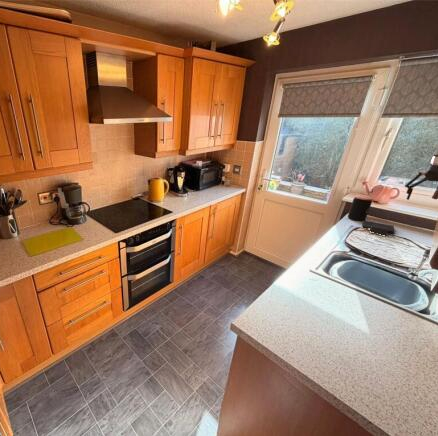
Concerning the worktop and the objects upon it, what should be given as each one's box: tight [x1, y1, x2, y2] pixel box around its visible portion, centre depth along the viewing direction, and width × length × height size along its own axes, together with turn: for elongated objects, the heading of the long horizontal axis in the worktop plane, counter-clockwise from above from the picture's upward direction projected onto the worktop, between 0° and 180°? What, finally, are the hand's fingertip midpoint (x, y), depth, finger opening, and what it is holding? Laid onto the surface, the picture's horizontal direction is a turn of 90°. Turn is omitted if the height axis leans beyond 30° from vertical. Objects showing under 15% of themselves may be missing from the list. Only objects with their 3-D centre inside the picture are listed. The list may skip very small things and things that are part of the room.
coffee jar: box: [347, 194, 374, 222], centre depth 176 cm, size 11×11×18 cm
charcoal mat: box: [361, 220, 396, 236], centre depth 163 cm, size 14×16×2 cm
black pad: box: [370, 223, 388, 237], centre depth 156 cm, size 11×8×5 cm
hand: (424, 201), depth 136 cm, fingers open, 13 cm apart
